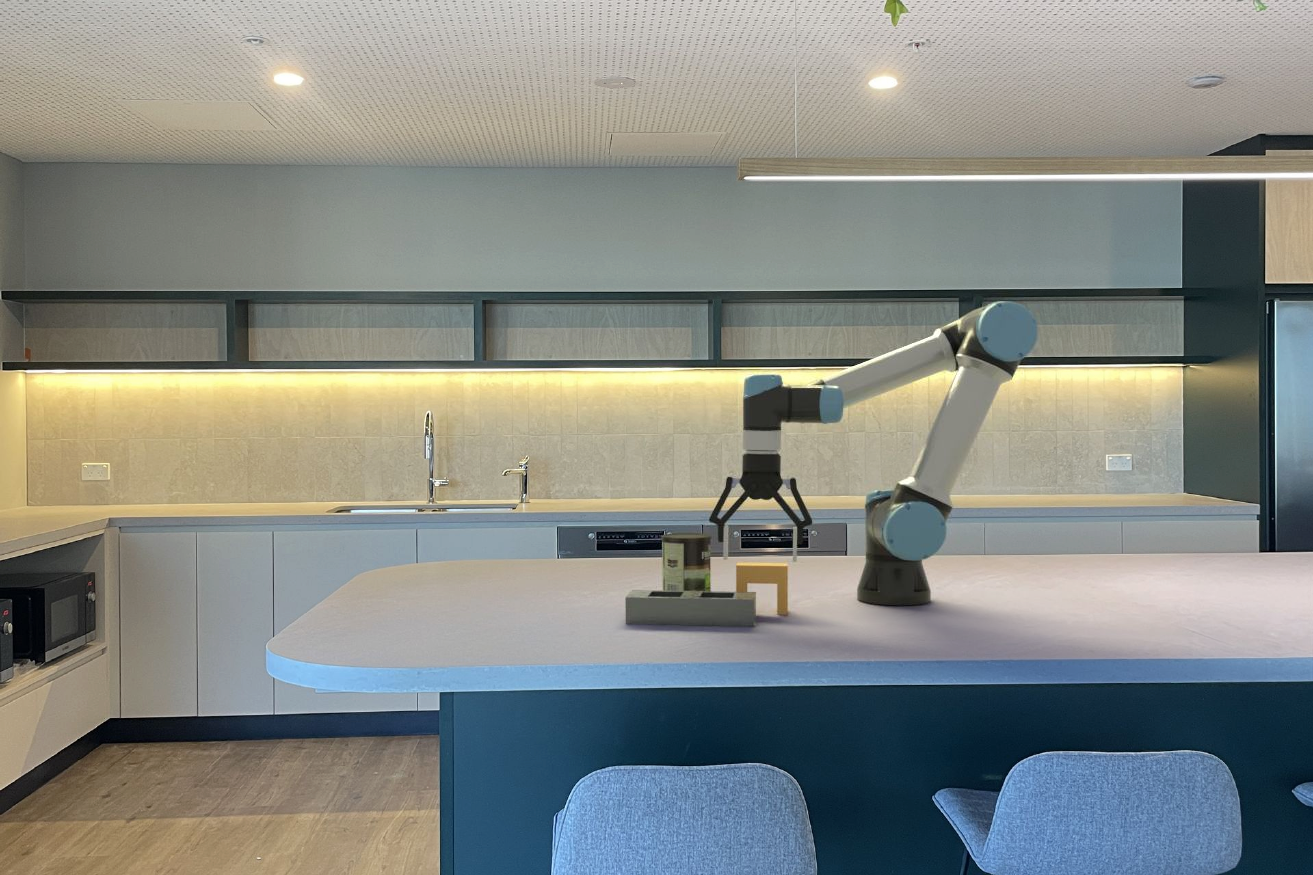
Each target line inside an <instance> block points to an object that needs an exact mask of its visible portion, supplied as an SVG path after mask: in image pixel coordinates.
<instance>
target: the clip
mask: <svg viewBox="0 0 1313 875" xmlns="http://www.w3.org/2000/svg"><path fill="white" fill-rule="evenodd" d="M788 565H789V562H788V563H787V562H786V563H785V562H780V563H779V562H737V563H736V564H735V570H736V571H735V574H736V575H735V579H736V580H735V582H736V585H735V587H736V588H735V589H736V591H735V592H748V584H758V585H759V584H762V585H763V584H764V585H766V584H771V585H776V587H777V588H776V598H777V600H776V606H777V607H776V615H788V613H789V610H788V608H789V607H788V605H789V603H788V601H789V598H788V597H789V596H788V593H789V592H788V590H789V587H788V586H789V582H788V580H789V575H788V574H789V573H788V571H789V570H788V569H789V568H788Z"/></svg>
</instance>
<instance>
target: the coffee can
mask: <svg viewBox="0 0 1313 875" xmlns="http://www.w3.org/2000/svg"><path fill="white" fill-rule="evenodd" d="M711 539H712V535H710V534H708V533H701V532H699V533H698V532H697V533H695V532H694V533H693V532H680V533H679V532H676V533H665V534H663V535H661V547H662V548H661V550H662V552H661V553H662V556H661V557H662V558H661V563H662V565H661V566H662V590H667V591H712V590H711V589H712V588H711V580H712V579H711V578H712V577H711V568H712V567H711Z"/></svg>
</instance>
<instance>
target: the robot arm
mask: <svg viewBox="0 0 1313 875" xmlns="http://www.w3.org/2000/svg"><path fill="white" fill-rule="evenodd" d="M1038 335H1039V329H1038V323H1037V322H1036V319H1035V317H1034V315H1033V313H1032V312H1031V311H1030V310H1029V309H1027V307H1025V306H1024V305H1022V304H1020V303H1018V302H1015V301H1008V300H1007V301H1004V300H1002V301H1001V300H997V301H994V302H990V303H989V304H987V305H986V306H981V307H979V308H976V309H973V310H972V311H970V312H968V313H966V314H965V315H963V316H962V317H959V318H958V319H955V321H952V322H950V323H948V324H946V325H943V326H942V327H939V328H935V330H934V332H933V333H932V335H931V336H929V337H926V338H924V339H921V340H918V341H916V342H913V343H910V344H908V345H906V346H902V347H901V348H897V349H895V350H893V351H889V352H887V353H885V354H882V355H880V356H876V357H875V358H872V359H869V360H867V361H864V362H862V363H859V364H856V365H854V366H851V367H849V368H845V369H843V370H841V371H839V372H836V373H833V374H831V375H828V376H825V377H823V378H821V379H818V380H815V381H812V382H810V383H807V384H796V385H795V384H786V383H785V384H784V381H783V378H782V376H781V375H780V374H768V373H766V374H765V373H761V374H759V373H755V374H753V373H752V374H748V375H747V376H745V378H744V384H743V397H742V398H743V399H742V403H743V404H742V405H743V406H742V409H743V410H742V413H743V414H742V417H743V418H742V450H743V451H745V453H743V454H742V462H741V464H742V466H741V467H742V468H741V469H742V470H741V477H734V476H732V475H729V476H727V477H726V478H725V487H724V489H723V491H722V493H721V495H720V496H719V499H718V501H717V503H716V505H715V507H714V509H713V511H712V513H711V514H710V516H709V518H708V520H709V523H712V524H715V525H716V526H717V541H718V542H719V543H722V544H723V550H722V551H723V552H722V556H723V557H722V558H723V560H728V559H729V525H725V524H726V523H727V521H729V519H730V518H731V517H732V516H733V515H734V514H735V513H736V511H737V510H739V508H740V507H741V506H742V505H743V503H744V502H745V501H746V500H747V499H748V498H749V499H751V500H754V501H757V500H763V501H770V500H771V499H774V501H775V502H776V503H777V504H778V505H779V506H780V508H781V509H782V510H783V511H784V513H785V514H787V516H788V517H789V519H790V520H791V521H792V522H793V524H794V525H795V526H793V528H792V530H793V532H792V534H793V535H792V562H793V563H796V562H798V561H797V560H798V559H797V558H798V556H797V554H798V545H803V543H804V528H806V527H809V526H811V525H812V524H813V518H812V517H811V515H810V512H809V510H808V508H807V506H806V504H805V502H804V500H803V498H802V496H801V494H800V492H799V490H798V487H797V485H798V484H797V479H796V477H793V476H792V477H789V478H782V477H781V468H782V467H781V466H782V465H781V464H782V462H781V461H782V456H781V454H780V453H779V452H781V451H782V447H781V446H782V423H785V424H787V423H794V424H795V423H796V424H823V425H826V424H827V425H828V424H838V423H840V422H841V421H842V419H843V414H844V409H846V408H849V407H852V406H854V405H856V404H859V403H862V402H864V401H867V400H869V399H870V400H871V399H872V398H875V397H877V396H881V395H884V394H885V393H888V392H891V391H893V390H896V389H898V388H901V387H904V386H906V385H909V384H912V383H914V382H917V381H920V380H922V379H925V378H929V377H930V376H933V375H935V374H938V373H941V372H944V371H948V372H949V373H953V372H956V374H955V375H954V378H953V380H952V382H951V384H950V386H949V388H948V391H947V392H946V395H945V397H944V399H943V402H942V403H941V406H940V409H939V411H938V412H937V414H936V417H935V419H934V421H933V423H932V426H931V428H930V430H929V432H928V434H927V437H926V438H925V441H924V443H923V445H922V447H921V449H920V452H919V454H918V456H917V458H916V461H915V463H914V465H913V467H912V469H911V470H910V473H909V475H908V477H906V478H904V479H901V480H898V481H897V483H896V484H895V487H894V488H893V489H881V490H880V489H877V490H872V491H869V492H867V493H866V497H865V503H864V509H865V562H864V563H865V564H864V565H863V566H864V567H863V569H862V572H861V575H860V579H859V582H858V584H857V589H856V590H857V591H856V598H857V600H858V601H860V602H864V603H868V604H874V605H884V606H885V605H886V606H917V605H918V606H919V605H924V604H929V603H930V602H931V601H932V600H931V599H932V592H931V586H930V585H929V581H928V577H927V575H926V571H925V568H924V565H923V561H924V560H927V559H929V558H930V557H932V556H934V555H935V554H937V553H938V552H939V550H940V549H941V548H942V547H943V545H944V543H945V540H946V538H947V532H948V531H947V521H948V519H949V516H950V514H951V512H952V510H953V508H954V505H953V502H952V499H951V493H952V491H953V489H954V486H955V484H956V482H957V479H958V478H959V475H960V473H961V471H962V469H963V468H964V467H963V466H964V465H965V462H966V460H967V458H968V457H969V454H970V451H971V450H972V448H973V445H974V443H975V441H976V438H977V437H978V434H979V432H980V430H981V428H982V426H983V425H984V422H985V419H986V417H987V415H988V413H989V411H990V408H991V407H992V404H993V402H994V399H995V397H996V396H997V393H998V391H999V390H1000V386H1001V385H1003V384H1004V383H1007V382H1009V381H1012V380H1013V377H1014V376H1015V374H1016V371H1017V369H1018V367H1019V365H1020V363H1021V360H1023V359H1024V358H1026V357H1027V356H1028V355H1029V354H1030V353H1031V352H1032V350H1033V349H1034V347H1035V346H1036V344H1037V340H1038V337H1039V336H1038ZM738 484H739V485H740V486H741V488H742V489H743V490H744V492H743V493H742V494H740V496H739V498H737V500H736V501H734V502H733V504H732V505H731V506H730V507H729V509H728V510H727V511H726V512H725V513H724V514H723V516H722V517H721V518H720V517H718V516H719V514H720V513H721V511H722V508H723V507H724V505H725V503H726V501H727V499H728V498H729V495H730V493H731V492H732V489H735V488H736V487H737V485H738ZM783 485H784V486H785V487H786V489H787V490H790V492H791V494H792V496H793V498H794V500H795V502H796V505H797V506H798V509H799V512H800V513H801V515H802V516H803V519H802V520H801V519H800V517H799V516H798V515H797V514H796V513H795V512H794V510H793V509H792V507H791V506H790V505H789V504H788V502H786V500H785V499H784V498H783V497H782V495H781V494H780V493H779V492H778V491H779V490H780V489H781V488H782V486H783Z"/></svg>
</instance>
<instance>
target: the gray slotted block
mask: <svg viewBox="0 0 1313 875" xmlns="http://www.w3.org/2000/svg"><path fill="white" fill-rule="evenodd" d="M624 599H625V602H624V603H625V624H626V625H657V626H660V625H663V626H670V625H671V626H702V627H703V626H707V627H708V626H710V627H747V628H748V627H749V628H750V627H751V628H752V627H753V628H755V625H756V619H757V592H756V591H747V592H736V591H719V590H718V591H717V590H715V591H714V590H713V591H712V590H711V591H667V590H663V589H662V590H660V589H659V590H657V589H656V590H655V589H654V590H653V589H632V590H631V591H630V592H628V594H627V595H626V596H625V598H624Z"/></svg>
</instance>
